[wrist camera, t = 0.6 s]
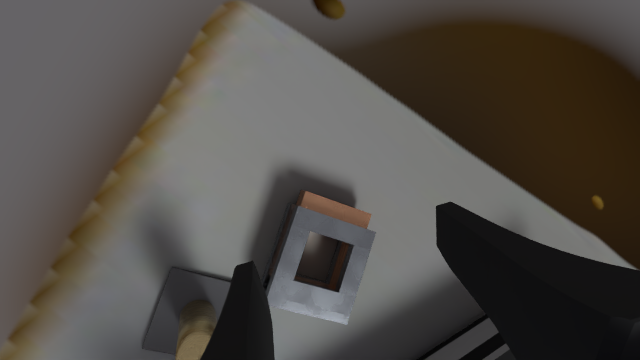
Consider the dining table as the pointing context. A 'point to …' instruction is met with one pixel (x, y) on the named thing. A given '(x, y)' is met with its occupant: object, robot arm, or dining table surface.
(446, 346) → the game console
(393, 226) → the dining table surface
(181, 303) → the rubber mat
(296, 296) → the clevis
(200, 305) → the brass peg
